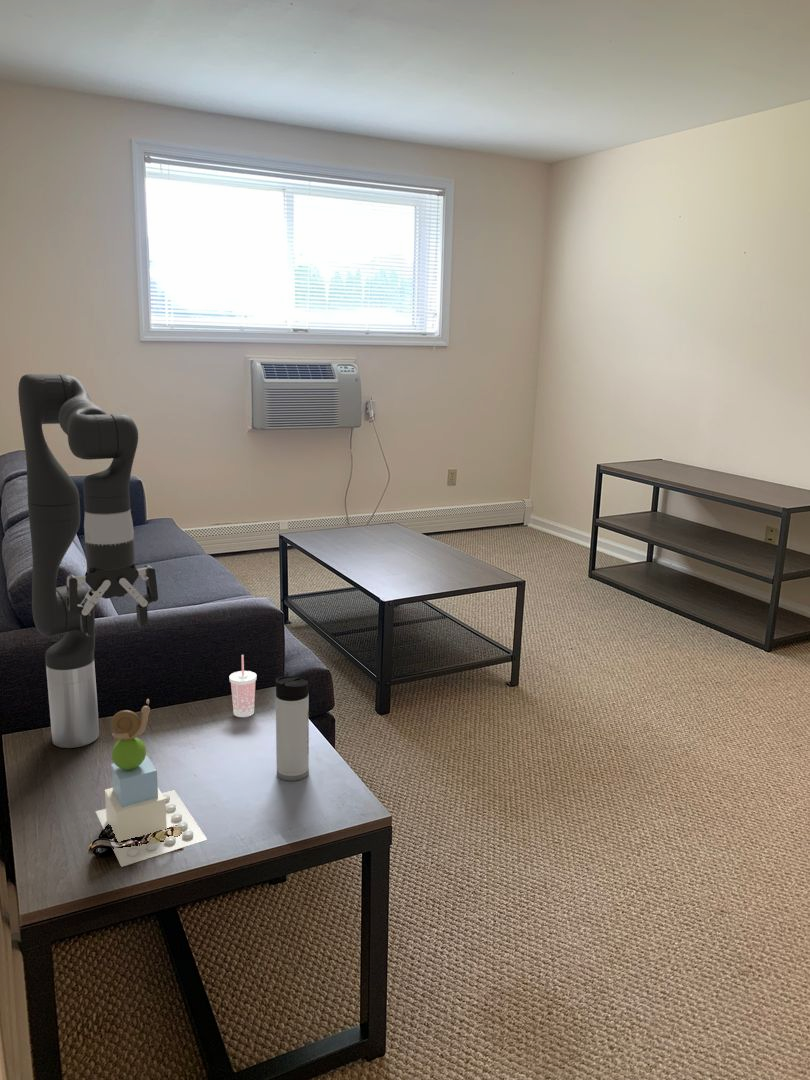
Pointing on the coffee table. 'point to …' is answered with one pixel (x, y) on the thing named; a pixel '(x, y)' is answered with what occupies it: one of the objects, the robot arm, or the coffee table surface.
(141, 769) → the blue brick
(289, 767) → the travel mug
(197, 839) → the build plate
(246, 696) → the beverage cup
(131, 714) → the snail figurine
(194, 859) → the coffee table surface
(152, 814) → the base brick
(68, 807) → the coffee table surface
